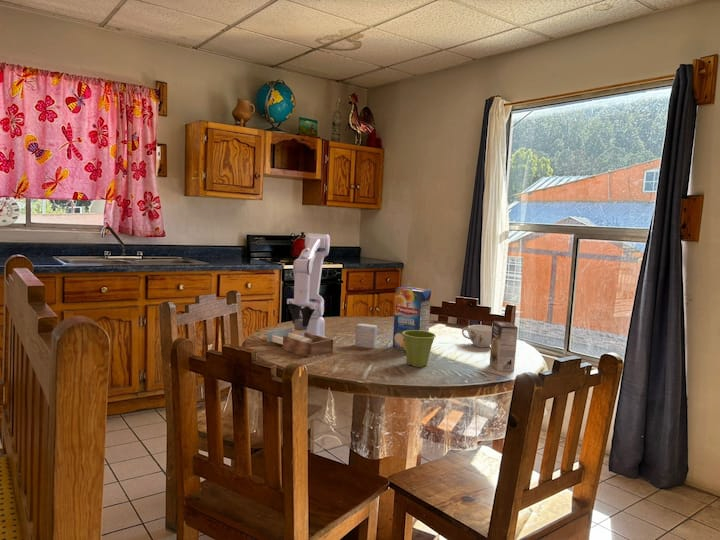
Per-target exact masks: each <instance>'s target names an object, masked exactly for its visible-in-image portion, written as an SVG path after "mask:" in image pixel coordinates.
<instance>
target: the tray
mask: <svg viewBox="0 0 720 540" xmlns="http://www.w3.org/2000/svg"><path fill="white" fill-rule="evenodd" d="M266 332H267V333H266V342H273V343H276V344H279V345H282V346H283V336H287V337H290V338H294V339H297V340H301V341H304V342H308V343H313V339H311V338H308V337H304V336H300V335H301V334H300V335H299V334H298V333H297V334H296V333H293V327H285V328H280V329H279V328H278V329H277V328H276V329H273V330H267V331H266Z"/></svg>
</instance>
